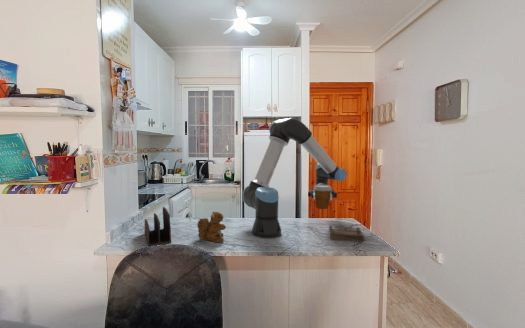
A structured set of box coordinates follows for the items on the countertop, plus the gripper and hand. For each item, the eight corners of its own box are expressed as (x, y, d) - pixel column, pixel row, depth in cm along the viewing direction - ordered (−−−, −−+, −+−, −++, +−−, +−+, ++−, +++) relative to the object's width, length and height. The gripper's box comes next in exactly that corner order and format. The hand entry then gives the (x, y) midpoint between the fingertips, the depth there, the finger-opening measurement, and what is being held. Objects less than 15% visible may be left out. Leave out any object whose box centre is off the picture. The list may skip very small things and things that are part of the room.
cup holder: (329, 229, 146) (329, 224, 146) (358, 231, 143) (358, 226, 143) (330, 239, 131) (330, 233, 131) (363, 241, 128) (363, 236, 128)
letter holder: (164, 231, 141) (164, 204, 140) (171, 243, 123) (171, 213, 122) (144, 233, 136) (143, 206, 135) (148, 247, 119) (147, 215, 118)
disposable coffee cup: (329, 206, 148) (330, 184, 147) (332, 210, 139) (333, 187, 138) (312, 205, 149) (312, 184, 148) (314, 209, 140) (314, 187, 139)
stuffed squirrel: (224, 242, 125) (224, 214, 124) (194, 242, 124) (194, 214, 123) (226, 235, 135) (226, 209, 134) (198, 235, 134) (198, 209, 133)
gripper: (339, 197, 159) (343, 205, 137) (304, 195, 163) (302, 203, 141) (340, 184, 159) (343, 191, 136) (304, 183, 163) (302, 189, 141)
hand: (322, 197), depth 139 cm, fingers closed on disposable coffee cup, 8 cm apart
